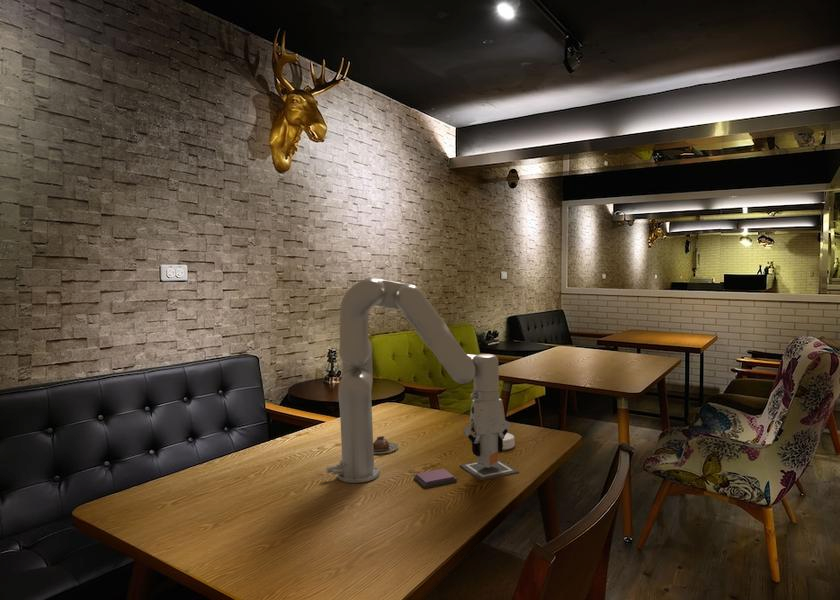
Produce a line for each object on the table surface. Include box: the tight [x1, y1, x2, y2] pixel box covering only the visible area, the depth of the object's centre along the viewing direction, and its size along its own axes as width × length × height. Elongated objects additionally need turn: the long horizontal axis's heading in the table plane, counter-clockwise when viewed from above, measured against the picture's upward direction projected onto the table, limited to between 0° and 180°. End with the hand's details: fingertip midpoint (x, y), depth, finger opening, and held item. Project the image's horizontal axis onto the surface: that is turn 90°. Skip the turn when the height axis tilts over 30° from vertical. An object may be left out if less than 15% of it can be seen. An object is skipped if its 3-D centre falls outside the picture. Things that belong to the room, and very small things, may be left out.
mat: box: [459, 459, 520, 482], centre depth 162 cm, size 13×13×1 cm
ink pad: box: [413, 468, 458, 489], centre depth 155 cm, size 10×8×2 cm
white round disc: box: [502, 432, 516, 451], centre depth 184 cm, size 10×10×4 cm
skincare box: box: [476, 428, 499, 468], centre depth 162 cm, size 6×4×12 cm
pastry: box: [373, 435, 399, 456], centre depth 184 cm, size 12×12×5 cm
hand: (487, 452), depth 162 cm, fingers closed on skincare box, 7 cm apart
